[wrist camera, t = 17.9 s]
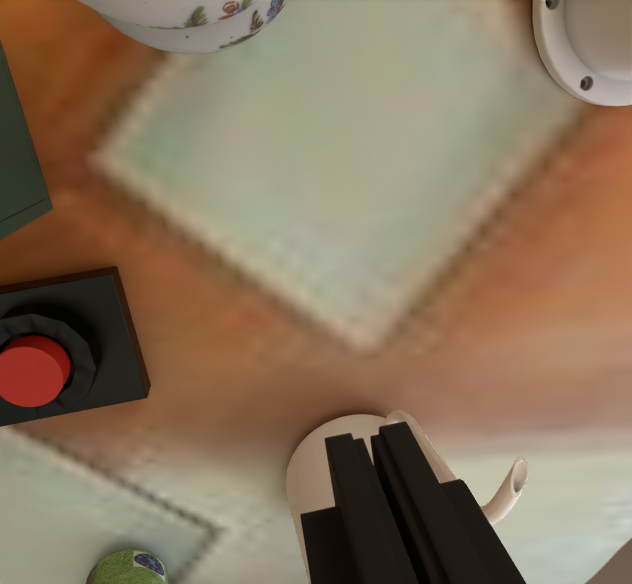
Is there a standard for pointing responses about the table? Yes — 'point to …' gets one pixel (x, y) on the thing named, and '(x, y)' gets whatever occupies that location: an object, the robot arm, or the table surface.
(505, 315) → the table surface
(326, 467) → the coffeepot
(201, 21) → the apothecary jar
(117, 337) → the switch block
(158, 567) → the beverage can
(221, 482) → the table surface
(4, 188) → the box
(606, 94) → the robot arm
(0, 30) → the table surface
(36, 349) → the button
